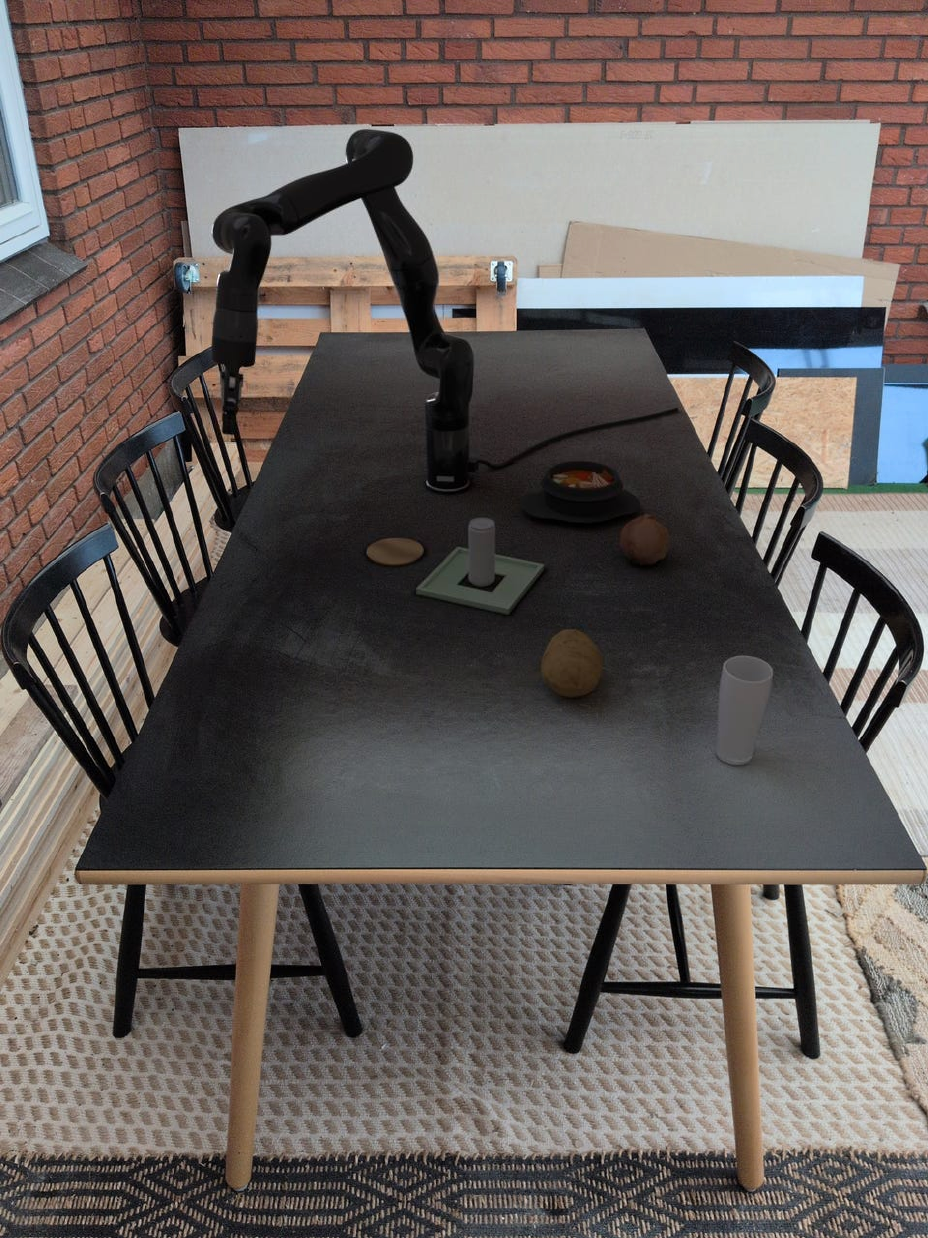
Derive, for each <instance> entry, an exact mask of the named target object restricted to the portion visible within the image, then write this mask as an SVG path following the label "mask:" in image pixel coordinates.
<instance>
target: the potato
mask: <svg viewBox="0 0 928 1238" xmlns="http://www.w3.org/2000/svg"><path fill="white" fill-rule="evenodd" d="M540 664H541V665H540V672H541V677H542V680H543V682H544V683H545V684H546V686H548V687H549V689H551V690H552V691H553V692H554V693H556V694H557V695H559V696H561V697H566V698H579V697H582V696H584V695H587V694H589V693H591V692H593V691H594V690H595V688H596V687H597V685H598V683H599V681H600V679H601V677H602V673H603V670H604V658H603V654H602V652H601V650H600V648H599V647H598V646H597V645H596V644H595V643H594V642H593V640H592V639H591V637H589V636H588V635H587V634H586V633H585V632H583V631H581V630H578V629H575V628H568V629H567V628H564V629H563V630H561V631H559V632H557V633H556V634H555V635H553V636H552V637H551V639H550V641H549V643H548V644H547V646H546V648H545V651H544V653H543V656H542V659H541V663H540Z"/></svg>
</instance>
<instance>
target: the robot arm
mask: <svg viewBox="0 0 928 1238" xmlns="http://www.w3.org/2000/svg"><path fill="white" fill-rule="evenodd" d="M413 167H414V152H413V148H412V146H411V144H410V143H409V141H408V139H406V138H405V137H404V136H402V135H400V134H398V133H396V132H392V131H388V130H380V129H379V130H378V129H372V128H371V129H370V128H363V129H362V128H361V129H357V130H356V131H354V132H353V133H352V134H351V135H350V137H349V138H348V139H347V143H346V145H345V164H342V165H339V166H337V167H333V168H331V169H326V170H323V171H319V172H316V173H311V174H308V175H306V176H303V177H299V178H297V179H295V180H293V181H290V182H288V183H287V184H284V185H283V186H280V187H279V188H277V189H275V190H273V191H272V192H270V193H268V194H266V195H264V196H261V197H257V198H254V199H250V200H248V201H244V202H241V203H238V204H235V205H232V206H230V207H228V208H226V209H224V210H223V211H222V212H221V213H220V214H218V215H217V217H216V218H215V220H214V221H213V223H212V224H213V225H212V227H211V235H212V239H213V242H214V244H215V245H216V246H217V248H219V250H221V251H222V252H224V253H227V254H229V255H232V257H231V261H230V265H229V268H228V269H227V270H223V271H221V272H220V273H219V274H218V276H217V280H216V292H215V293H216V294H215V296H216V297H215V308H214V312H213V318H212V319H213V320H212V330H211V331H212V332H211V344H210V345H211V347H210V359H211V361H212V362H213V363H216V364H217V365H223V367H224V371H220V373H219V385H220V401H222V406H221V411H222V413H221V421H222V423H221V433H222V434H223V435H229V436H234V435H235V434H236V427H237V425H236V424H237V414H238V412H239V410H240V409H239V403H240V402H241V400H242V388H243V387H244V378H245V377H244V373H240V369H241V368H250V367H254V366H255V364H256V358H257V357H256V356H257V355H256V354H257V344H258V332H259V331H258V330H259V320H258V319H259V318H258V317H259V315H258V310H259V299H260V298H259V297H260V286H261V283H262V280H263V277H264V276H265V273H266V268H267V265H268V263H269V259H270V256H271V252H272V245H273V244H272V243H273V242H272V237H273V236H276V237H278V236H280V237H281V236H282V237H283V236H287V235H290V234H292V233H294V232H296V231H298V230H299V229H301V228H303V227H305V226H306V225H308V224H311V223H312V222H314V221H315V220H317V219H319V218H321V217H323V216H325V215H327V214H329V213H331V212H333V211H335V210H337V209H339V208H341V207H344V206H345V205H348V204H350V203H353V202H355V201H358V200H360V199H361V201H362V204H363V205H364V207H365V210H366V213H367V214H368V216H369V219H370V222H371V224H372V225H371V226H372V227H373V231H374V232H375V235H376V238H377V241H378V243H379V247H380V248H381V251H382V255H383V257H384V260H385V265H386V267H387V270H388V273H389V276H390V277H391V281H392V284H393V286H394V288H395V290H396V294H397V297H398V300H399V303H400V305H401V308H402V312H403V314H404V317H405V320H406V323H407V327H408V331H409V335H410V340H411V344H412V348H413V353H414V356H415V359H416V363H417V365H418V367H419V369H420V370H421V371H422V372H423V373H425V374H426V375H428V376H429V377H431V378H432V377H433V378H435V379H438V380H439V382H438V383H439V384H438V385H439V386H438V391H435V392H433V393H430V394H428V395H427V396H426V398H425V402H424V403H425V404H424V405H425V406H424V407H425V408H424V409H425V444H426V445H425V446H426V447H425V448H426V487H427V488H428V489H429V490H431V491H433V492H436V493H441V494H454V493H459V492H462V491H465V490H467V489H468V488H469V486H470V473H472V474H475V473H476V472H477V471H478V470H480V464H482V465H485V466H487V467H488V468H490V469H494V470H496V469H502V468H504V467H505V468H506V467H507V466H508V465H510V464H511V463H513V462H515V461H517V460H518V459H521V458H522V457H524V456H526V455H528V454H529V453H531V452H532V451H535V450H536V449H539V448H541V447H543V446H545V445H547V444H550V443H552V442H553V443H554V442H555V441H558V440H560V439H564V438H567V437H570V436H574V435H578V434H581V433H585V432H589V431H594V430H598V429H604V428H608V427H613V426H618V425H619V426H620V425H623V424H629V423H634V422H640V421H645V420H649V419H654V418H657V417H662V416H666V415H669V414H672V413H677V412H679V408H678V407H675V408H671V409H667V410H664V411H660V412H656V413H652V414H647V415H642V416H637V417H632V418H627V419H622V420H615V421H611V422H606V423H601V424H596V425H591V426H587V427H583V428H579V429H578V428H577V429H573V430H571V431H568V432H564V433H561V434H557V435H556V436H552V437H550V438H547V439H545V440H542V441H540V442H538V443H535V444H534V445H532V446H530V447H528V448H527V449H525V450H523V451H521V452H520V453H517V454H516V455H514V456H512V457H511V458H509V459H507V460H506V461H504V462H502V463H500V464H499V463H498V464H493V463H491V462H489V461H488V460H486V459H480V458H477V457H470V403H471V400H472V397H473V393H474V392H473V391H474V390H473V389H474V375H475V374H474V373H475V354H474V349H473V346H472V345H471V344H472V343H470V342H469V340H467V339H466V338H463V337H460V336H457V335H453V334H451V333H447V332H446V331H445V330H444V328H443V327H442V325H441V322H440V320H439V316H438V313H437V309H436V299H437V294H438V290H439V285H440V271H439V267H438V263H437V261H436V257H435V254H434V250H433V247H432V245H431V242H430V241H429V238H428V237H427V235H426V234H425V232H424V230H423V229H422V228H421V226H420V224H419V223H418V222H417V221H416V219H415V218H414V217H413V215H412V214H411V213H410V212H409V210H408V209H407V208H406V207H405V205H404V204H403V202H402V200H401V198H400V196H399V194H398V191H397V189H396V187H399V186H400V185H402V184H403V183H404V182H406V180H407V179H408V178H409V176H410V174H411V173H412V170H413Z"/></svg>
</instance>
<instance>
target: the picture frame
mask: <svg viewBox="0 0 928 1238" xmlns="http://www.w3.org/2000/svg"><path fill="white" fill-rule="evenodd" d="M544 571H545V564H544V563H540V562H534V561H529V560H524V559H520V558H514V557H510V556H505V555H500V554H496V553H495V576H500V577H503V578H502V580H501V581H500V582H499V583H498V584H497V585H496V587H495V588H494V589H493V590H492V591H487V590H482V589H479V588H475V587H474V588H473V587H468V586H464V585H460V583H462V581H463V580H464V579H465V578H466V577H467V576H468V575H469V548H467V547H462V546H457V547H455V548H454V549H453V551H451V552H450V554H448V555H447V556H446V558H444V559H443V561H442V562H440V564H439V565H438V566H437V567H436V568H434V569H433V571H432V572H431V573H430V574H429V575H428V576H426V578H425V579H424V580H423V581H422V582H421V583H420V584H418V586H417V587H416V589H415V593H416V595H419V596H423V597H428V598H432V599H437V600H440V601H441V600H442V601H445V602H449V603H454V604H458V605H463V606H468V607H472V608H477V609H481V610H485V611H490V612H494V613H499V614H503V615H507V616H509V615H510V614H511V612H512V611H513V610H514V609H515V607H516V606H517V605H518V603H519V602H520V601H521V599H523V597H524V596H525V594H526V593H527V592H528V591H529V590H530V589H531V587H532V586H533V585H534V584H535V582H536V581H537V579H538V578H539V577H540V576H541V575H542V573H543V572H544Z"/></svg>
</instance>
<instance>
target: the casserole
mask: <svg viewBox="0 0 928 1238" xmlns="http://www.w3.org/2000/svg"><path fill="white" fill-rule="evenodd" d="M540 487H541V488H542V490H537V491H533V492H529V493H526V494H525V495H524V496H523V497H522V498H521V501H520V506H521V509H523V511H524V512H525V513H526V514H528V515H530V516H531V517H534V518H538V519H543V520H544V519H545V520H556V521H561V522H562V521H563V522H566V523H567V522H568V523H573V524H574V523H575V524H594V523H601V522H606V521H609V520H612V519H615V518H618V517H622V516H627V515H632V514H636V513H637V512H639V510H641V502H640V500H639V498H638V497H637V496H636V495H635V494H633V493H632V492H631V491H628V490H627V489H624V484H623V481H622V479H620V476H619V473H618V472H617V470H615V468H613V467H610V466H608V465H606V464H603V463H600V462H594V461H586V460H573V461H565V462H560V463H557V464H555V465H552V466H550V467H549V468H548V469H547V470H546V473H545V475H544V476H543V477H542V478H541V480H540Z"/></svg>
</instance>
